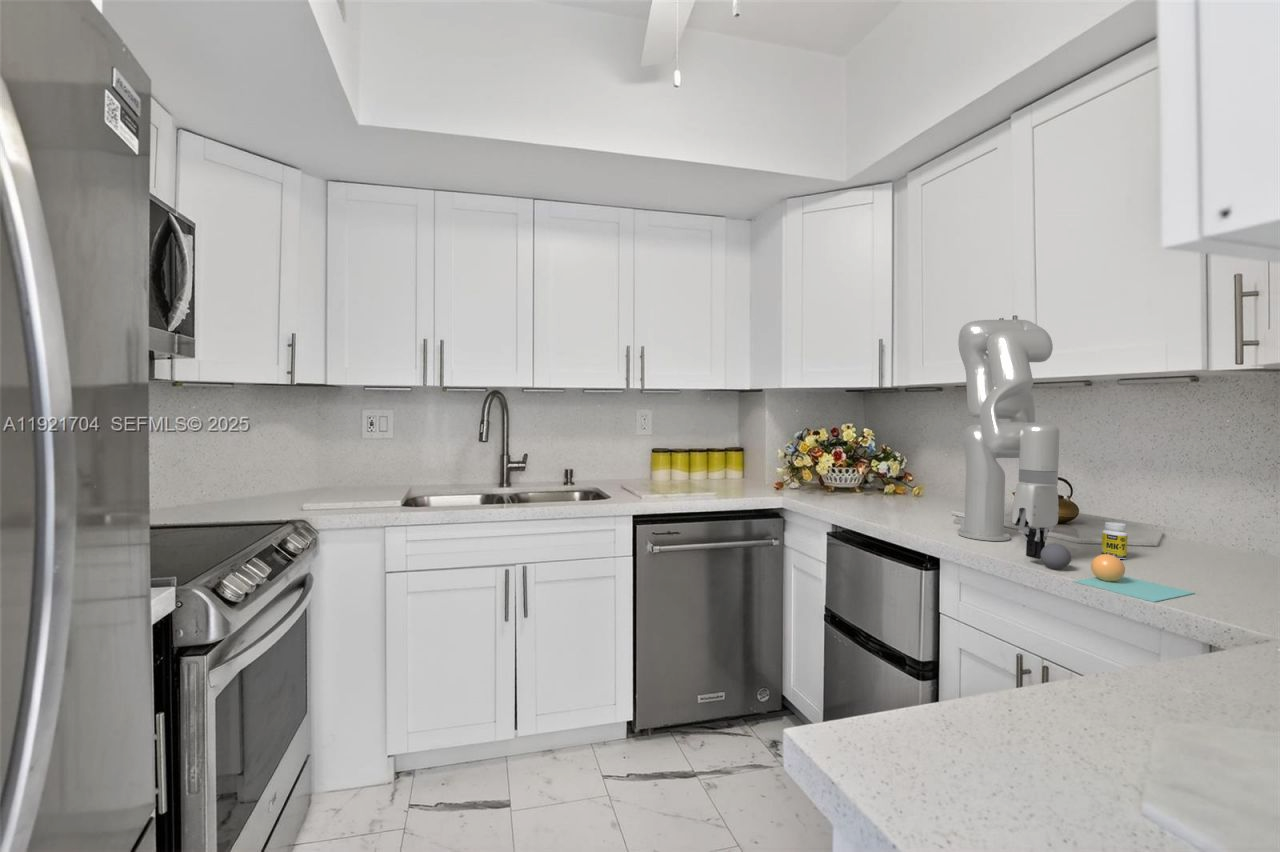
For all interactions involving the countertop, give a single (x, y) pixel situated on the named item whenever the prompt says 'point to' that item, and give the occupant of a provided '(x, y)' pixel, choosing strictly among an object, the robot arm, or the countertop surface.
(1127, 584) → the teal mark
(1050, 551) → the grey egg-shaped ball
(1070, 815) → the countertop surface
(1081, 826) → the countertop surface
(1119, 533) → the supplement bottle
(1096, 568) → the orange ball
